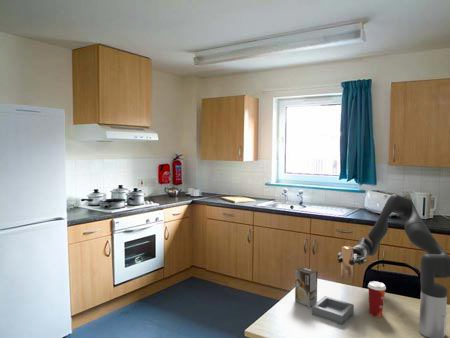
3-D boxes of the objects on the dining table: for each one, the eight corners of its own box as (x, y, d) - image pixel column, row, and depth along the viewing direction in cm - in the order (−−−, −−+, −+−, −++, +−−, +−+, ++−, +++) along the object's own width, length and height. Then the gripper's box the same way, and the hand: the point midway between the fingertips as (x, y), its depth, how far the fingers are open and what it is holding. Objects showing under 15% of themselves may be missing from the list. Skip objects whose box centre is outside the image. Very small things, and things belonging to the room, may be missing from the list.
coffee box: (317, 303, 173) (318, 271, 172) (309, 307, 169) (310, 274, 168) (302, 297, 180) (302, 266, 179) (294, 300, 176) (295, 269, 175)
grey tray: (353, 312, 164) (353, 304, 164) (342, 324, 153) (342, 315, 153) (324, 304, 173) (324, 296, 172) (311, 314, 162) (312, 306, 161)
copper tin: (353, 275, 174) (354, 247, 173) (350, 278, 170) (351, 249, 169) (343, 272, 178) (344, 245, 177) (339, 275, 174) (340, 247, 173)
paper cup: (386, 318, 159) (388, 288, 158) (368, 316, 160) (369, 286, 159) (382, 310, 167) (383, 281, 165) (365, 308, 168) (366, 280, 167)
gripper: (343, 244, 189) (331, 251, 176) (371, 249, 180) (360, 257, 167) (343, 257, 189) (330, 266, 176) (371, 263, 180) (360, 273, 167)
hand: (345, 262), depth 172 cm, fingers closed on copper tin, 5 cm apart
